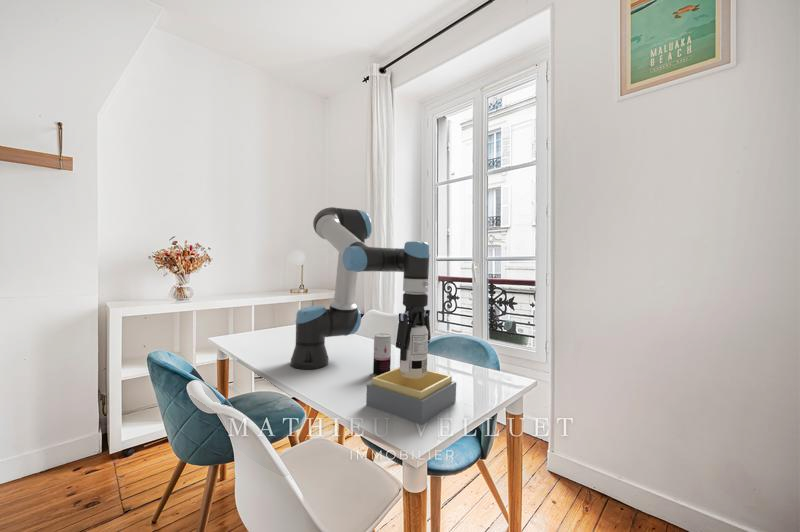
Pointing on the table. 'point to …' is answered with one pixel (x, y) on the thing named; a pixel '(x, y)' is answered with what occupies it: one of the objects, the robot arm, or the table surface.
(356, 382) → the table surface
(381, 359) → the beverage can
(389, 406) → the outer crate
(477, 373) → the table surface
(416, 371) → the supplement can
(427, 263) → the robot arm
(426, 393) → the inner crate
